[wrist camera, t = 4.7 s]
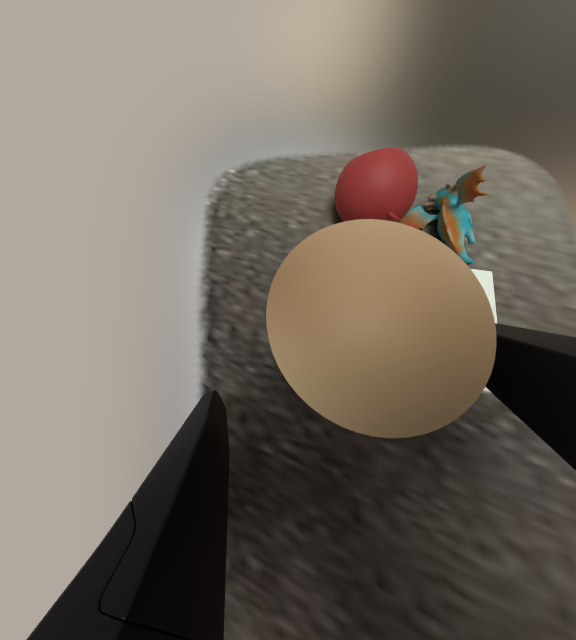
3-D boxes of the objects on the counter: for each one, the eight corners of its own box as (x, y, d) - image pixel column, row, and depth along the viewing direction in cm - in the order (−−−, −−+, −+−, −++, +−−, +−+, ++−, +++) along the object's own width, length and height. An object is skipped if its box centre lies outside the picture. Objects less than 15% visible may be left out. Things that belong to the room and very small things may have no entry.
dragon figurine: (532, 237, 19) (489, 150, 17) (536, 282, 14) (480, 172, 13) (445, 270, 24) (406, 206, 22) (430, 309, 20) (381, 234, 18)
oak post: (335, 400, 16) (509, 460, 3) (280, 390, 16) (244, 413, 4) (341, 344, 17) (487, 232, 4) (289, 336, 17) (286, 207, 5)
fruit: (330, 247, 22) (362, 236, 14) (325, 181, 20) (357, 129, 12) (392, 238, 22) (457, 223, 14) (391, 173, 20) (463, 116, 13)
